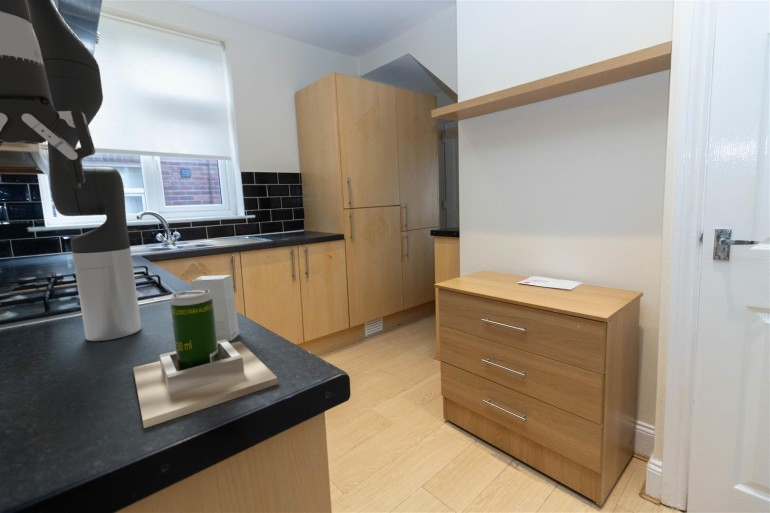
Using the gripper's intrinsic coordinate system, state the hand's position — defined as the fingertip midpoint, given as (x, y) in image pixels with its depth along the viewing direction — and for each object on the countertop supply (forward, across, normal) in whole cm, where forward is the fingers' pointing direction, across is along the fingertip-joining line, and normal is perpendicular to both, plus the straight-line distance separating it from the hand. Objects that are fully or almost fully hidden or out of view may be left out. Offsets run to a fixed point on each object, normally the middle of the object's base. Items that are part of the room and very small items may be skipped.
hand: (37, 189), depth 50 cm
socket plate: (+28, -16, +12) cm, 34 cm away
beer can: (+27, -15, +12) cm, 34 cm away
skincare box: (+30, -20, -4) cm, 36 cm away
